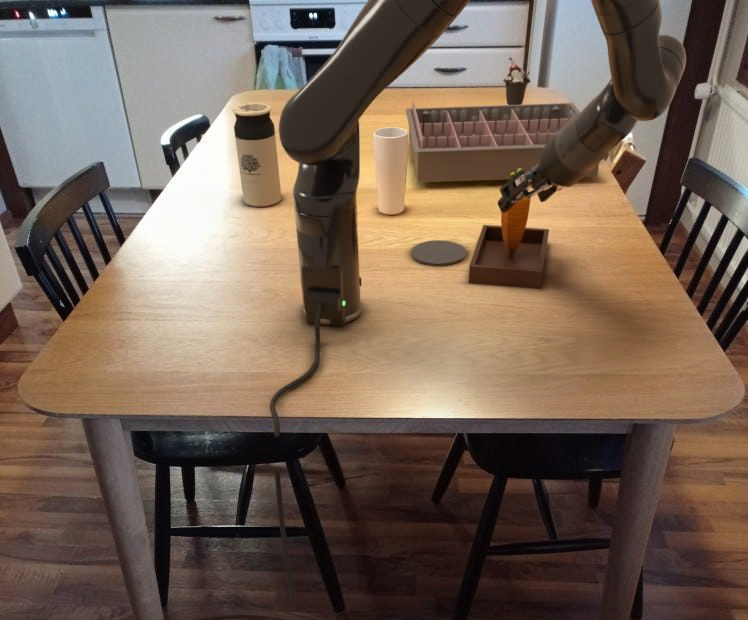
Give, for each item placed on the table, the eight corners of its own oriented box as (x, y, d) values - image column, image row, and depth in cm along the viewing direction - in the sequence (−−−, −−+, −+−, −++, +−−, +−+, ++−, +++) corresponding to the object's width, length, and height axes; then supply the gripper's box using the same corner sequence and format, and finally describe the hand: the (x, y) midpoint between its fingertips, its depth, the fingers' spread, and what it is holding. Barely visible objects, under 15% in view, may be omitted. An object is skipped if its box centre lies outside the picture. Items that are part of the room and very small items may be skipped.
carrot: (506, 247, 142) (514, 161, 132) (530, 253, 139) (540, 167, 130) (491, 256, 139) (498, 169, 129) (515, 263, 137) (524, 175, 127)
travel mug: (261, 191, 168) (250, 100, 156) (289, 198, 164) (280, 105, 152) (235, 202, 163) (222, 110, 151) (264, 210, 159) (253, 115, 148)
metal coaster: (461, 268, 137) (461, 265, 136) (406, 263, 139) (406, 261, 138) (469, 245, 144) (469, 242, 144) (416, 241, 146) (416, 238, 146)
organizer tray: (600, 184, 166) (608, 134, 159) (414, 190, 166) (414, 141, 159) (568, 138, 190) (574, 93, 184) (405, 143, 190) (405, 99, 183)
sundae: (494, 121, 202) (499, 56, 192) (516, 118, 204) (522, 53, 194) (508, 128, 197) (514, 62, 188) (530, 124, 200) (537, 58, 190)
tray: (539, 288, 130) (541, 271, 128) (468, 282, 132) (469, 265, 130) (547, 245, 143) (549, 229, 141) (482, 240, 145) (483, 224, 143)
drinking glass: (404, 217, 155) (405, 138, 145) (371, 216, 156) (369, 136, 146) (410, 205, 159) (411, 127, 150) (378, 203, 161) (376, 126, 151)
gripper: (550, 181, 114) (496, 232, 129) (621, 162, 120) (561, 213, 135) (531, 134, 114) (478, 190, 129) (602, 117, 120) (544, 173, 135)
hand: (521, 202), depth 132 cm, fingers open, 8 cm apart
